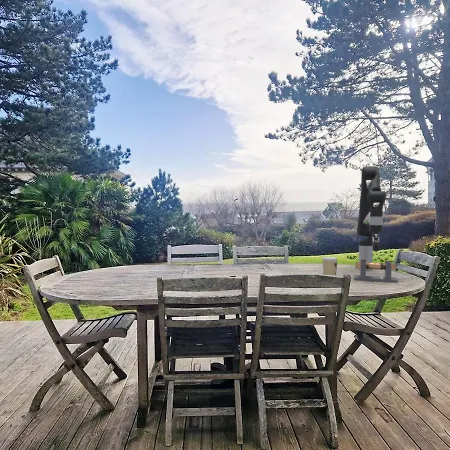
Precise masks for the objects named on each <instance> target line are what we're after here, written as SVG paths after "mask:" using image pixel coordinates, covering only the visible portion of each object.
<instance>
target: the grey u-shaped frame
mask: <svg viewBox="0 0 450 450" xmlns="http://www.w3.org/2000/svg"><path fill="white" fill-rule="evenodd" d="M384 263H386V270H384V276H381V275H380V276H378V275H377V276H376V275H367V274H366V273H367V270H366V260H361V270H360V269H359V270H360V273H359V274H354V278H353V279H354V281H363V282H377V283H378V282H380V283H394V284H395V283H397V284H398V280H399V279H397V277H394V276H392V270H391V263H392V262H391V260H384Z"/></svg>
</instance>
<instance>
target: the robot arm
mask: <svg viewBox="0 0 450 450" xmlns="http://www.w3.org/2000/svg"><path fill="white" fill-rule="evenodd" d="M380 174H381V173H380V168H379V167H378V166H363V167H362V168H361V179H360V180H361V183H360V184H361V185H360V195H359V197H360V198H359V208H358V211H359V212H358V221H357V228H356V234H357V235H358V237H366V238H365V239H364V240H363V239H362V240H360V241H359V242H358V262H361V260H366V262H369V263H373V254H374V253H373V252H376V253H377V252H379V244H380V237H381V236H380V235H379V233H383V231H384V230H383V229H384V219H383V218H384V217H383V214H384V213H383V210H384V206H385V205H384V204H385V202H386V199H387V194H386V192H385V191H384V190H382V188H381V183H380V182H381V175H380ZM367 181H369V183H368V184H367ZM374 204H378V205H377V206H375V205H374ZM368 215H369V223H364V222H365V220H366V217H368ZM359 270H361V269H359ZM366 271H373V269H366Z"/></svg>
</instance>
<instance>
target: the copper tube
mask: <svg viewBox="0 0 450 450" xmlns="http://www.w3.org/2000/svg"><path fill="white" fill-rule="evenodd" d="M354 265H355V269H358V270H360V269H361V262H359V261H355V264H354ZM366 269H372V270H377V271H379V270H380V271H381V270H382V271H385V270H386V263H385V262H372V263H369V262H366ZM391 271H397V263H392V262H391Z"/></svg>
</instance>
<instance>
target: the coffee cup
mask: <svg viewBox="0 0 450 450" xmlns="http://www.w3.org/2000/svg"><path fill="white" fill-rule="evenodd" d="M321 260H322V273H323V275H335V276H336V277H337V270H338V269H337V268H338V258H337V257H334V256H333V257H332V256H331V257H330V256H325V257H322V259H321Z"/></svg>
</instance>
